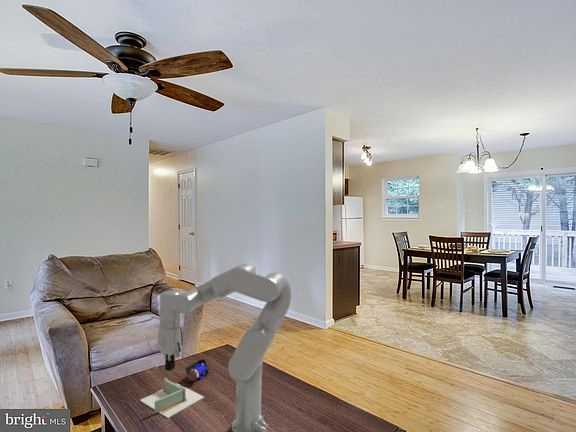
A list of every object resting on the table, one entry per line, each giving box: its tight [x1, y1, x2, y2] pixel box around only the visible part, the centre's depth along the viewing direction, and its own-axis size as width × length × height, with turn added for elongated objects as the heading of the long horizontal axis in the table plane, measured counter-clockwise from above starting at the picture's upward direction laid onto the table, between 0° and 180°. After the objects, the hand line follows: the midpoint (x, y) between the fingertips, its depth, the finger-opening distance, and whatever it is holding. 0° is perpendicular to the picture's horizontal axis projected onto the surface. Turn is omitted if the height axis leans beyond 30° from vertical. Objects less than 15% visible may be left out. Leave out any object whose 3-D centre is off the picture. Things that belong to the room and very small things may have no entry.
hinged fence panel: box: [154, 388, 186, 414], centre depth 136 cm, size 13×2×4 cm, turn 138°
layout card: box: [139, 382, 205, 419], centre depth 142 cm, size 20×18×1 cm
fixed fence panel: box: [162, 377, 183, 394], centre depth 145 cm, size 13×2×5 cm, turn 54°
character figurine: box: [185, 358, 212, 383], centre depth 161 cm, size 8×7×15 cm
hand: (170, 369), depth 130 cm, fingers closed
